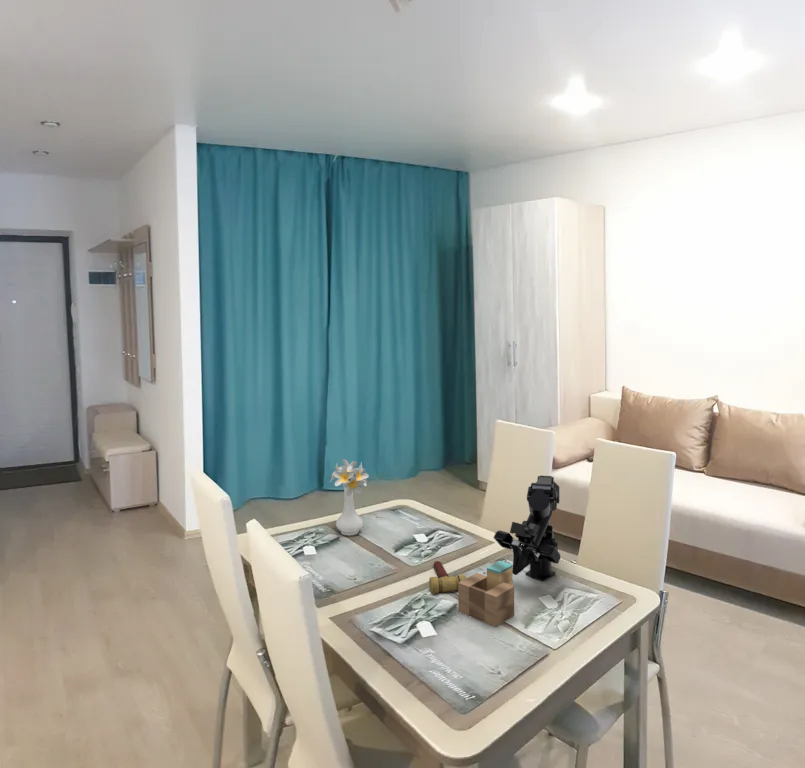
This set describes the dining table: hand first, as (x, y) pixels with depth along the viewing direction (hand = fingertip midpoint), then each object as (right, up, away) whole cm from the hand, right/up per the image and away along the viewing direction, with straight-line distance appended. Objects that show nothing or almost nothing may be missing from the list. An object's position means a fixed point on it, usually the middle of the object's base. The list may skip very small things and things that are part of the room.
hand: (514, 574), depth 181 cm
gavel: (-19, -6, +14) cm, 24 cm away
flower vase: (-48, 0, +50) cm, 70 cm away
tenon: (-5, -7, -4) cm, 9 cm away
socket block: (-9, -8, -8) cm, 14 cm away
